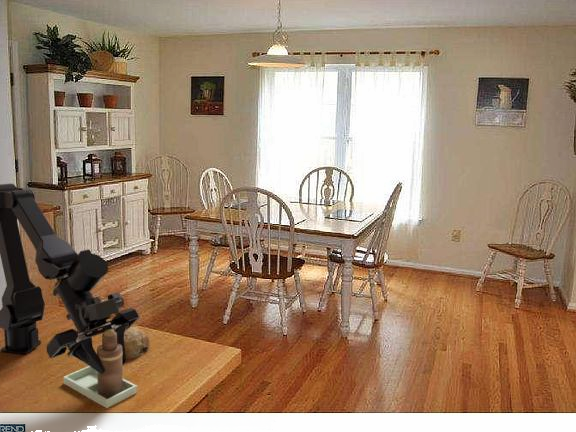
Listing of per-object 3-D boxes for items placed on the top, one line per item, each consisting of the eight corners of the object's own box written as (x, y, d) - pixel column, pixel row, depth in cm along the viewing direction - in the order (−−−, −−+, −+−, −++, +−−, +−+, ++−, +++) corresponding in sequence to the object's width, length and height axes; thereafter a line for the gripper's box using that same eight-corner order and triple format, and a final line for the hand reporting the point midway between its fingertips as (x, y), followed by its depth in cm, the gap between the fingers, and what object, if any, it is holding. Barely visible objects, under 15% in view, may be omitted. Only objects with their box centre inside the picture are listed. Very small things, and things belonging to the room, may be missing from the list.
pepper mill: (93, 398, 105) (91, 333, 102) (104, 385, 110) (103, 323, 107) (116, 401, 105) (115, 336, 102) (126, 388, 109) (126, 325, 106)
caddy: (63, 385, 110) (63, 376, 110) (94, 371, 116) (94, 363, 116) (106, 410, 102) (106, 401, 102) (137, 394, 108) (137, 385, 108)
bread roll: (129, 377, 122) (142, 350, 120) (92, 354, 123) (104, 327, 121) (148, 358, 131) (161, 333, 129) (114, 336, 132) (126, 311, 130)
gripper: (52, 295, 97) (90, 369, 93) (134, 272, 112) (169, 335, 109) (31, 322, 103) (65, 393, 99) (111, 297, 118) (143, 358, 114)
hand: (114, 368), depth 105 cm, fingers closed on pepper mill, 5 cm apart
